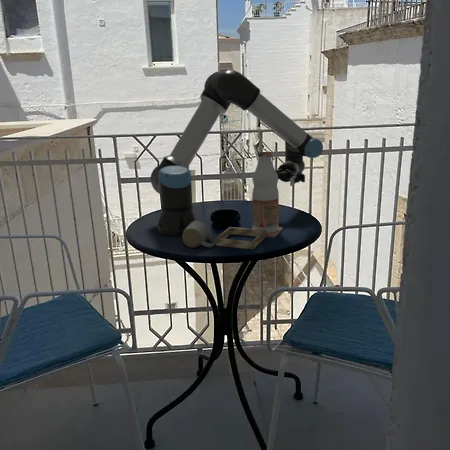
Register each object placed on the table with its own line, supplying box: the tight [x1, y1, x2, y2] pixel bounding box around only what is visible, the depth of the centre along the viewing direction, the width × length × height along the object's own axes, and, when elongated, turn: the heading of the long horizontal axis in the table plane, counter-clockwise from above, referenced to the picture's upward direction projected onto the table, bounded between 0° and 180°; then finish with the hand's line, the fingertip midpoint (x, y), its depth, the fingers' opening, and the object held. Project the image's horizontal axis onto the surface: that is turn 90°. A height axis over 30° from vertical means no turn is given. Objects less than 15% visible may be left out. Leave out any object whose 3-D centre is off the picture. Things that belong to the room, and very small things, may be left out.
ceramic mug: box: [181, 220, 215, 249], centre depth 154 cm, size 11×8×8 cm
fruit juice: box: [251, 151, 280, 233], centre depth 162 cm, size 9×9×28 cm
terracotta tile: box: [265, 226, 283, 238], centre depth 166 cm, size 10×10×1 cm
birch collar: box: [214, 226, 267, 250], centre depth 157 cm, size 14×14×2 cm
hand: (273, 181), depth 169 cm, fingers open, 13 cm apart
